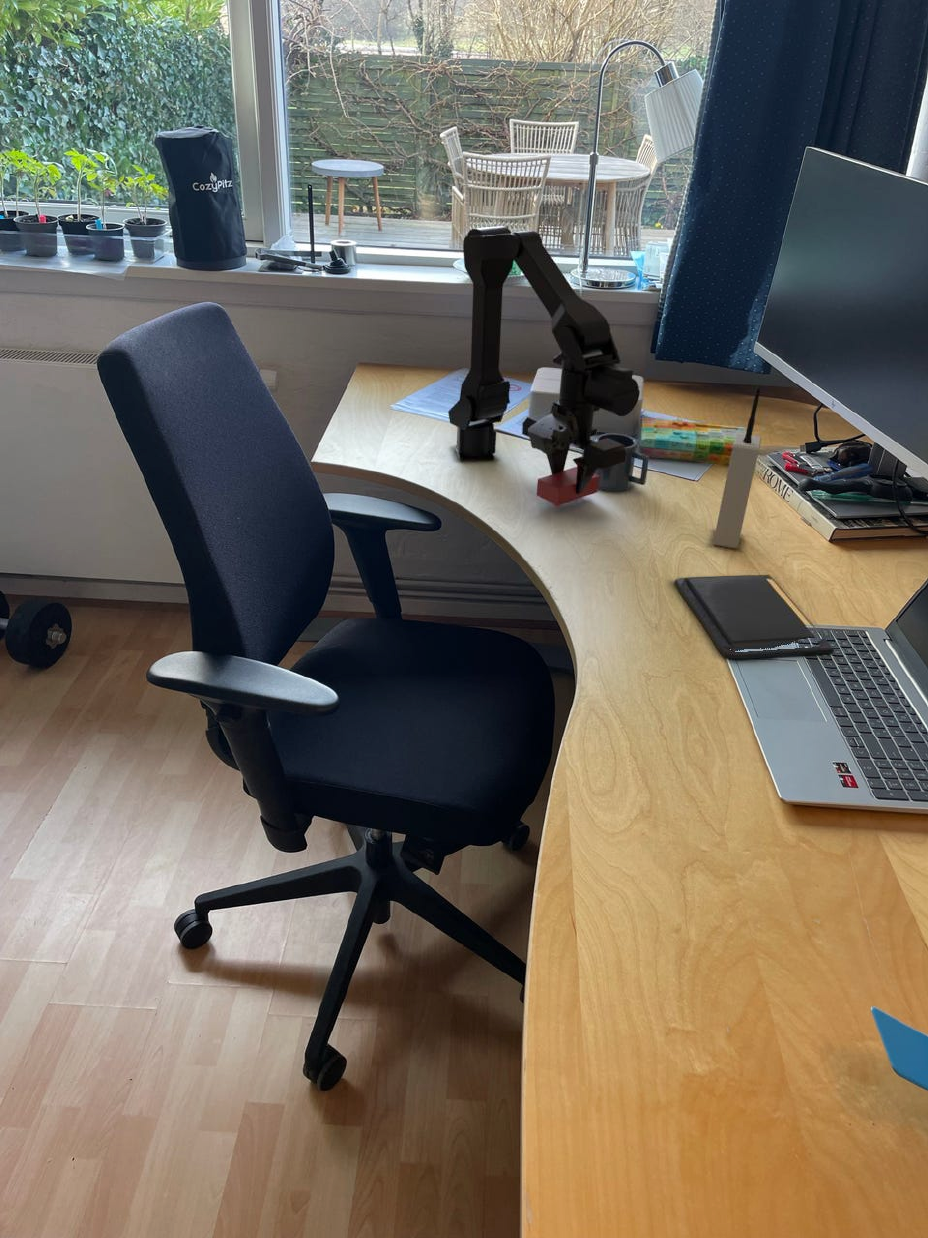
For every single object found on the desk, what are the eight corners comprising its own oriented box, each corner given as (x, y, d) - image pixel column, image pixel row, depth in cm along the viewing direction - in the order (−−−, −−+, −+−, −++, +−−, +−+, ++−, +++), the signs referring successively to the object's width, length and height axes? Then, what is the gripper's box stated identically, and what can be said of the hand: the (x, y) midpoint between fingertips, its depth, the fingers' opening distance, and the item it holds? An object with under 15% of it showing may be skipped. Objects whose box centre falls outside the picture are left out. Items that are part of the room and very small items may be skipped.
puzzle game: (642, 413, 180) (747, 423, 178) (639, 436, 183) (742, 446, 180) (642, 434, 170) (752, 445, 168) (638, 458, 173) (747, 469, 170)
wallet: (674, 570, 133) (775, 567, 134) (672, 581, 134) (772, 578, 135) (723, 648, 116) (837, 643, 118) (720, 660, 117) (834, 656, 119)
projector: (637, 438, 181) (642, 400, 177) (526, 428, 184) (529, 389, 180) (638, 410, 195) (644, 374, 191) (536, 401, 198) (538, 365, 194)
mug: (583, 484, 162) (588, 441, 158) (603, 472, 167) (608, 430, 162) (634, 500, 157) (640, 456, 153) (652, 486, 162) (659, 444, 158)
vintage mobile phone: (739, 536, 147) (773, 382, 133) (737, 549, 143) (771, 392, 129) (716, 532, 148) (747, 378, 134) (712, 545, 144) (744, 389, 130)
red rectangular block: (557, 506, 150) (558, 489, 149) (536, 495, 153) (537, 478, 152) (597, 492, 155) (599, 475, 154) (576, 482, 159) (578, 465, 157)
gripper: (500, 389, 147) (494, 480, 155) (583, 424, 135) (573, 520, 143) (550, 378, 153) (542, 465, 161) (634, 410, 141) (621, 503, 149)
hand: (567, 487), depth 154 cm, fingers closed on red rectangular block, 5 cm apart
